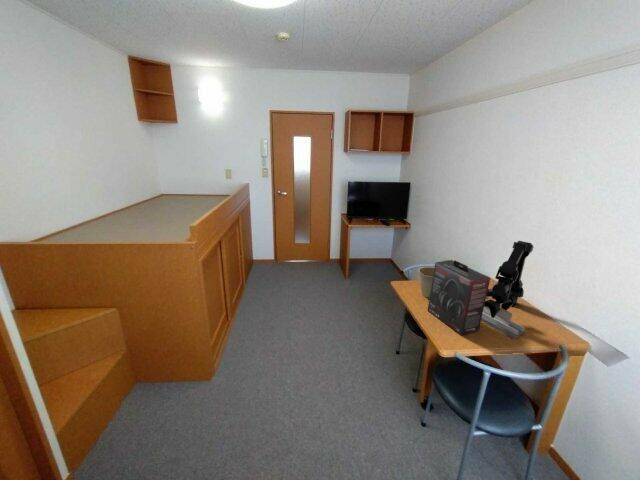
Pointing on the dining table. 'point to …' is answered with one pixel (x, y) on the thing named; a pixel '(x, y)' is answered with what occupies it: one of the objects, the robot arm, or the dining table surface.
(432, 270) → the plant pot
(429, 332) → the dining table surface
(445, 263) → the headset box
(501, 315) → the door panel
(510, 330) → the rail
